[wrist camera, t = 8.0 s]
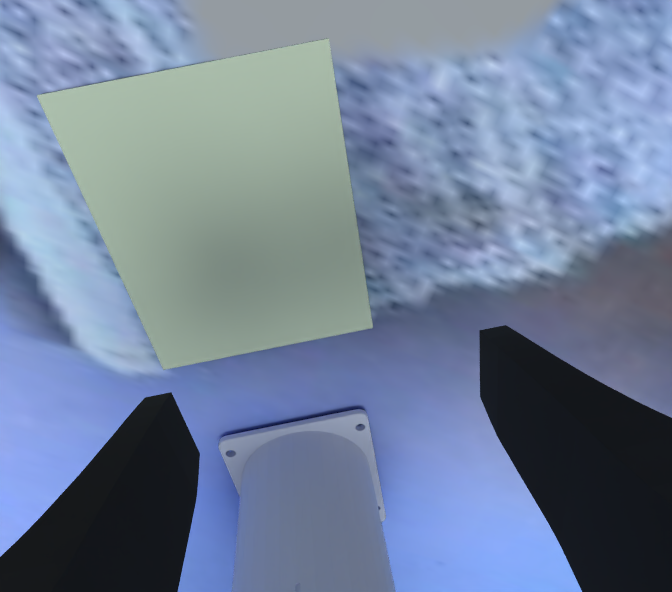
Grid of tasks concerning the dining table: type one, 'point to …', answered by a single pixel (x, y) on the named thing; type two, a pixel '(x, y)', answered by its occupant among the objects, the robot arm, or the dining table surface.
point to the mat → (223, 200)
